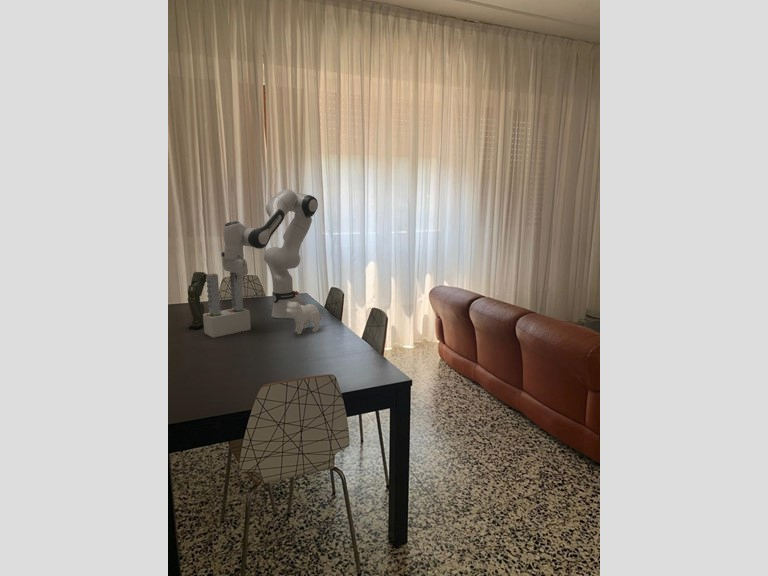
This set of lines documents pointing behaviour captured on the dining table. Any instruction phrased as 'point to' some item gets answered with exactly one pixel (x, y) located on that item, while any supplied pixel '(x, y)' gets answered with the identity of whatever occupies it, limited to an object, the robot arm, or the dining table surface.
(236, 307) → the column
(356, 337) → the dining table surface
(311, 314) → the white animal figurine
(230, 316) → the frame
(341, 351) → the dining table surface
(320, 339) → the dining table surface
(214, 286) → the column
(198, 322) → the mechanical leg
